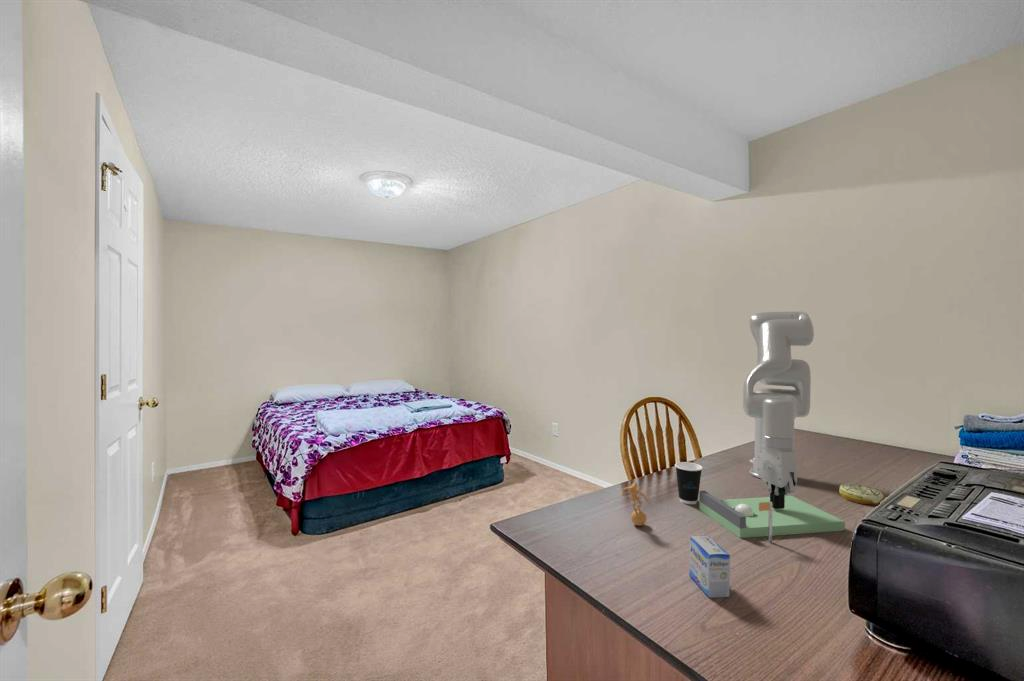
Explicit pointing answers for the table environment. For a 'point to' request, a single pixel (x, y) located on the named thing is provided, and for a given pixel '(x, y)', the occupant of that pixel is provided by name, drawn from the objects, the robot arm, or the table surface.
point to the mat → (784, 521)
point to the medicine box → (709, 566)
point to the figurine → (638, 515)
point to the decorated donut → (861, 494)
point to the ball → (744, 510)
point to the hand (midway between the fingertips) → (777, 507)
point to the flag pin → (765, 507)
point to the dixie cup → (688, 481)
